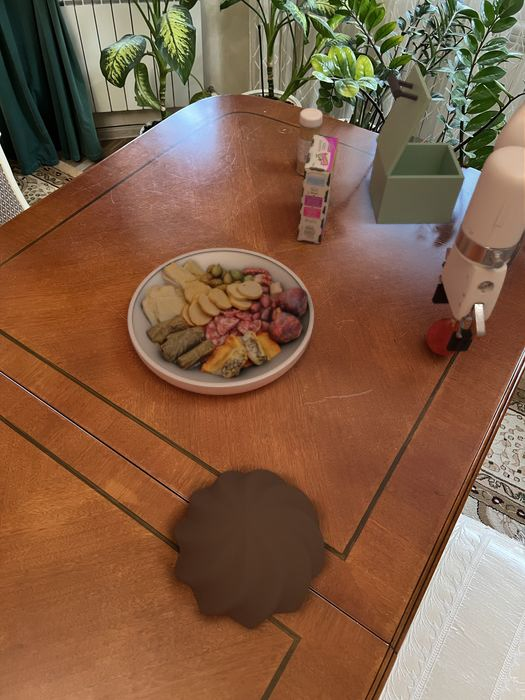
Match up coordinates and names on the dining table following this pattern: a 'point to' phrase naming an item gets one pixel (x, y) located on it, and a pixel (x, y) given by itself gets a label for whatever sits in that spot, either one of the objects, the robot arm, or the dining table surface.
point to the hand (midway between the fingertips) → (448, 325)
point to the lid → (402, 116)
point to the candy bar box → (317, 188)
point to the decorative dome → (249, 546)
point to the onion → (441, 335)
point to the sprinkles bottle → (307, 134)
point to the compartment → (417, 185)
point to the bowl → (220, 320)
